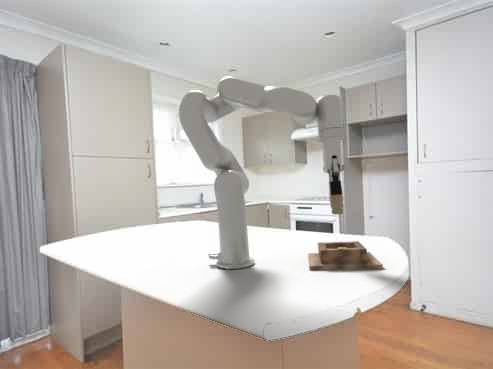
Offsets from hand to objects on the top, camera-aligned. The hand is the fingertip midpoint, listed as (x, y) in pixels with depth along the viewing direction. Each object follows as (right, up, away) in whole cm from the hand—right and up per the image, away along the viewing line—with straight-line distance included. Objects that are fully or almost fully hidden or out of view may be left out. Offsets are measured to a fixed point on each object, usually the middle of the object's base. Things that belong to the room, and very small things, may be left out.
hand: (335, 193), depth 90 cm
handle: (0, -6, 0) cm, 6 cm away
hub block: (+2, -21, 0) cm, 21 cm away
